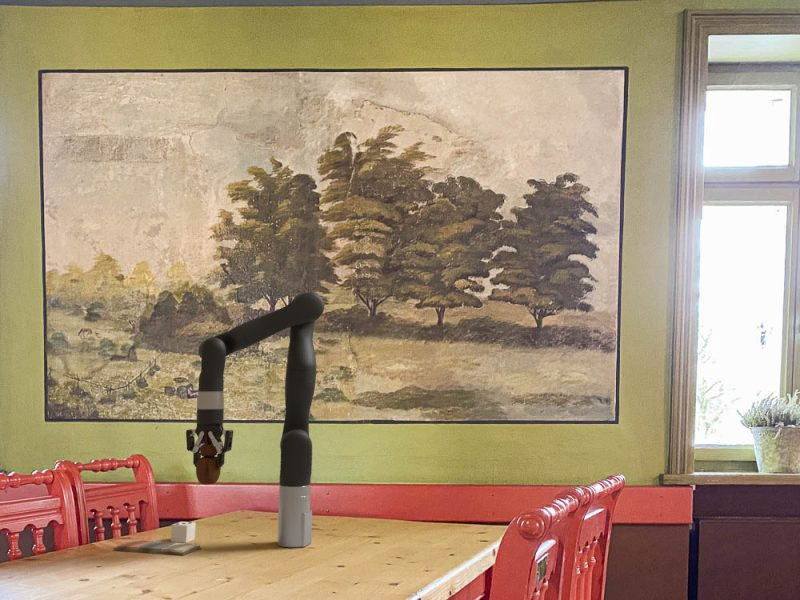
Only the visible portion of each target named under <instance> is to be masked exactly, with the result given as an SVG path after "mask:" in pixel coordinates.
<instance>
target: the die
mask: <svg viewBox="0 0 800 600" xmlns="http://www.w3.org/2000/svg"><path fill="white" fill-rule="evenodd" d="M194 540H196V522H194V521H193V522H191V521H178V522H176V523H172V524H171V537H170V542H174V543H190V542H192V541H194Z"/></svg>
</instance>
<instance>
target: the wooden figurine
mask: <svg viewBox="0 0 800 600" xmlns="http://www.w3.org/2000/svg"><path fill="white" fill-rule="evenodd" d="M200 454H201V458H200V459H199V460H198V461H197V464H196V467H195V475H196V479H197V481H198V482H199V484H201V485H214V484H216V483H217V482H218V480H219V479H220V475H221V471H222V467H217V454H218V452H217V450H216V447H214V445H213V444H210V443H208V435H207V430H206V433H205V444H203V445H202V446H201V448H200Z"/></svg>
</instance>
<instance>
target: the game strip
mask: <svg viewBox="0 0 800 600" xmlns="http://www.w3.org/2000/svg"><path fill="white" fill-rule="evenodd" d="M199 549H201V545H198V544H197V543H190V542H187V543H181V542H171V541H170V542H168V541H160V540H159V541H157V540H156V541H154V540H144V539H143V540H142V539H141V540H140V539H133V540H129V541H127V542H124V543H120V544H118V545H117V546H116V547H114V548H113V551H115V552H129V553H130V552H131V553H142V554H144V553H145V554H156V555H157V554H158V555H170V556H171V555H173V556H182V557H183V556H185V555H188V554H191V553H192V552H195V551H197V550H199Z"/></svg>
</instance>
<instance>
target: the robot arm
mask: <svg viewBox="0 0 800 600" xmlns="http://www.w3.org/2000/svg"><path fill="white" fill-rule="evenodd" d="M324 311H325V301H324V299H323V298H322V297H321V296H320V295H319V294H318V293H315V292H311V291H310V292H308V291H306V292H303V293H301V294H298V295H296V296H295V297H294V298H293V299H292V300H291V302H290V303H288V304H287V305H284V306H283V307H281V308H278V309H277V310H275V311H272V312H269V313H267V314H263V315H261V316H258V317H255V318H253V319H250V320H248V321H245V322H243V323H241V324H239V325H237V326H234V327H232V328H231V329H229V330H227V331H225V332H222V333H220V334H217V335H214V336H212V337H210V338H207V339H205V340H203V341H202V342H201V343H200V345H199V346H198V351H197V352H198V356H199V357H200V360H201V361H200V362H201V363H200V372H199V373H200V374H199V376H198V389H197V396H196V397H197V398H196V416H195V417H196V420H195V421H196V422H195V423H196V428H194V429H193V428H192V429H186V431H185V439H186V450H187V451H188V452H192V456H193V457H192V464H193V465H194V467H195V468H196V464H197V461H198V460H199V459H200V458H202V456H201V454H200V448H201V446H202V445H203V444H205V433H206V430H207V435H208V443H210V444H213V445H214V447H216V450H217V452H218V453H217V455H216V457H217V467H221V468H222V467H223V466H224V465H225V459H226V458H225V456H226V455H225V454H226V453H227V452H230V451H232V447H233V446H232V445H233V438H234V430H233V429H225V428H224V416H225V415H224V414H225V413H224V412H225V397H224V383H225V381H224V380H225V379H224V374H225V367H226V361H227V360H226V359H227V357H228V356H230V355H231V354H233V353H236V352H238V351H242V350H244V349H247V348H250V347H252V346H254V345H256V344H258V343H260V342H263V341H264V340H267V338H269V337H272V336H274V335H277V334H278V333H280V332H282V331H284V330H287V329H289V328H290V329H289V334H290V335H289V343H288V350H287V357H286V358H287V360H286V361H287V362H286V368H285V369H286V370H285V379H284V382H285V383H284V384H285V385H284V391H285V392H284V402H285V405H284V406H285V413H284V414H285V416H284V423H283V428H282V434H281V439H280V443H279V448H280V468H279V486H278V488H279V489H278V490H279V491H278V495H279V496H278V515H277V516H278V520H277V521H278V522H277V523H278V524H277V546H279V547H284V548H305V547H307V546H308V545H309V544H311V543H312V539H313V538H312V536H313V535H312V534H313V533H312V532H313V510H312V509H311V479H312V473H313V471H312V470H313V469H312V468H313V465H312V464H313V443H312V440H311V438H310V411H311V406H312V403H313V398H314V395H315V390H316V389H315V388H316V383H317V382H316V379H317V358H316V353H315V349H314V348H315V347H314V339H313V338H314V329H315V322H316V321H317V320H318V319H320V318H321V316H322V315H323V313H324ZM196 435H197V439H196V441H195V437H196ZM222 436H223V438H224V442H223V440H222Z"/></svg>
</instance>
